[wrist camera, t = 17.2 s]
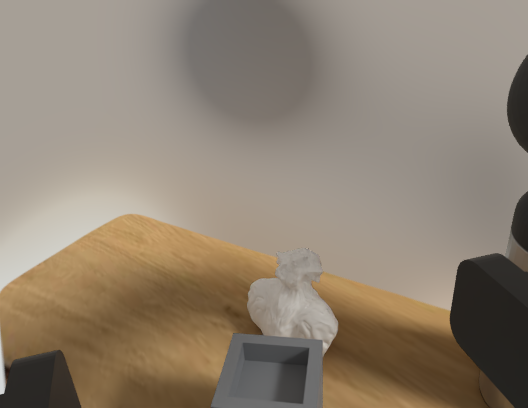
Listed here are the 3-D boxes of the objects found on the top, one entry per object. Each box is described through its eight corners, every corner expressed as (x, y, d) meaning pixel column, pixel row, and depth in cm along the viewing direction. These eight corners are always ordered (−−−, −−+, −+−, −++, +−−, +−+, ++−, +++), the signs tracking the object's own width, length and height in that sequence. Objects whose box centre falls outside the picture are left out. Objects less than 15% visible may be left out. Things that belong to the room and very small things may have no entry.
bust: (339, 373, 52) (377, 275, 53) (303, 375, 47) (346, 265, 47) (258, 324, 60) (292, 239, 60) (218, 321, 54) (256, 226, 54)
